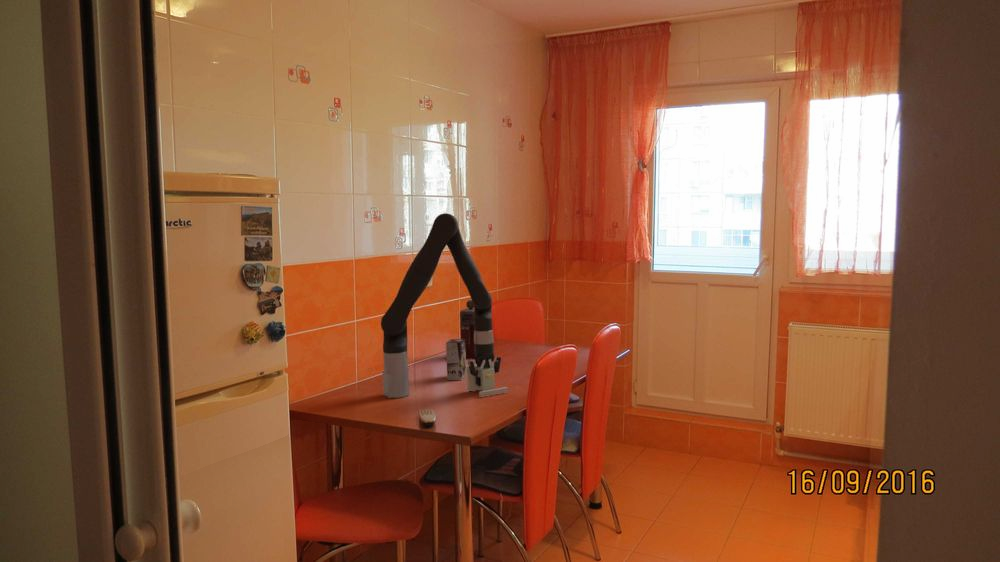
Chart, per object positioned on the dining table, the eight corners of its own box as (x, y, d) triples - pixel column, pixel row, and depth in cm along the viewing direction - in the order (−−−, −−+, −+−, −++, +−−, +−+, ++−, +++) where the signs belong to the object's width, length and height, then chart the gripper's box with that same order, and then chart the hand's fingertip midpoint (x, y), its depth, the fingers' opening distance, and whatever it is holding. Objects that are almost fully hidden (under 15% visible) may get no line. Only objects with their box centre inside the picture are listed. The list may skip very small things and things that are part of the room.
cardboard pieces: (480, 397, 263) (479, 371, 262) (466, 391, 273) (465, 366, 272) (507, 392, 269) (507, 367, 268) (493, 387, 279) (492, 362, 278)
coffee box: (461, 380, 292) (460, 342, 291) (446, 380, 294) (445, 342, 292) (467, 375, 301) (465, 338, 300) (452, 375, 302) (451, 338, 301)
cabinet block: (484, 391, 267) (484, 370, 266) (476, 388, 273) (475, 367, 272) (496, 389, 269) (495, 369, 269) (487, 386, 275) (486, 366, 275)
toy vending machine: (459, 359, 336) (457, 301, 334) (467, 354, 347) (465, 298, 345) (477, 359, 334) (474, 301, 331) (484, 355, 344) (482, 298, 342)
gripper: (472, 345, 263) (473, 389, 265) (504, 340, 270) (506, 384, 272) (462, 342, 269) (464, 385, 271) (495, 338, 277) (496, 380, 278)
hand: (485, 384), depth 271 cm, fingers closed on cabinet block, 5 cm apart
